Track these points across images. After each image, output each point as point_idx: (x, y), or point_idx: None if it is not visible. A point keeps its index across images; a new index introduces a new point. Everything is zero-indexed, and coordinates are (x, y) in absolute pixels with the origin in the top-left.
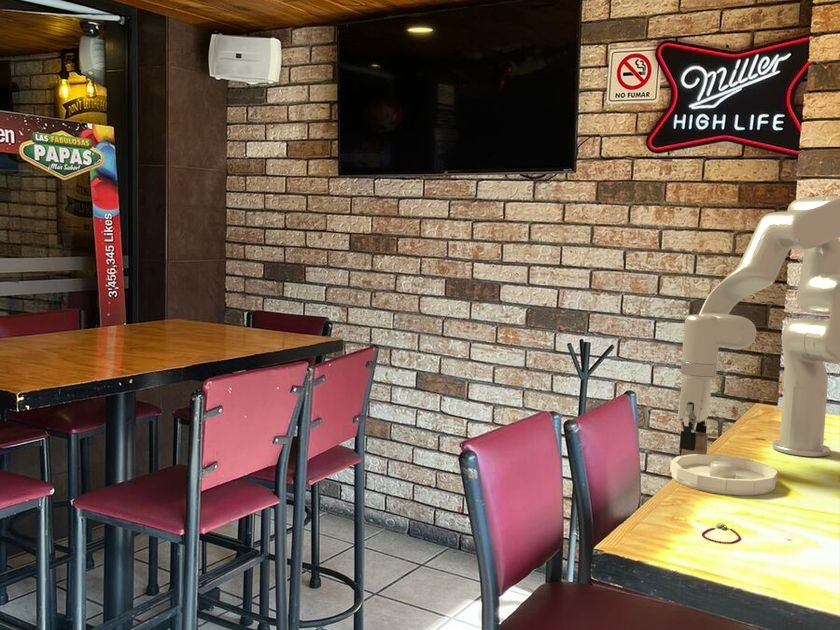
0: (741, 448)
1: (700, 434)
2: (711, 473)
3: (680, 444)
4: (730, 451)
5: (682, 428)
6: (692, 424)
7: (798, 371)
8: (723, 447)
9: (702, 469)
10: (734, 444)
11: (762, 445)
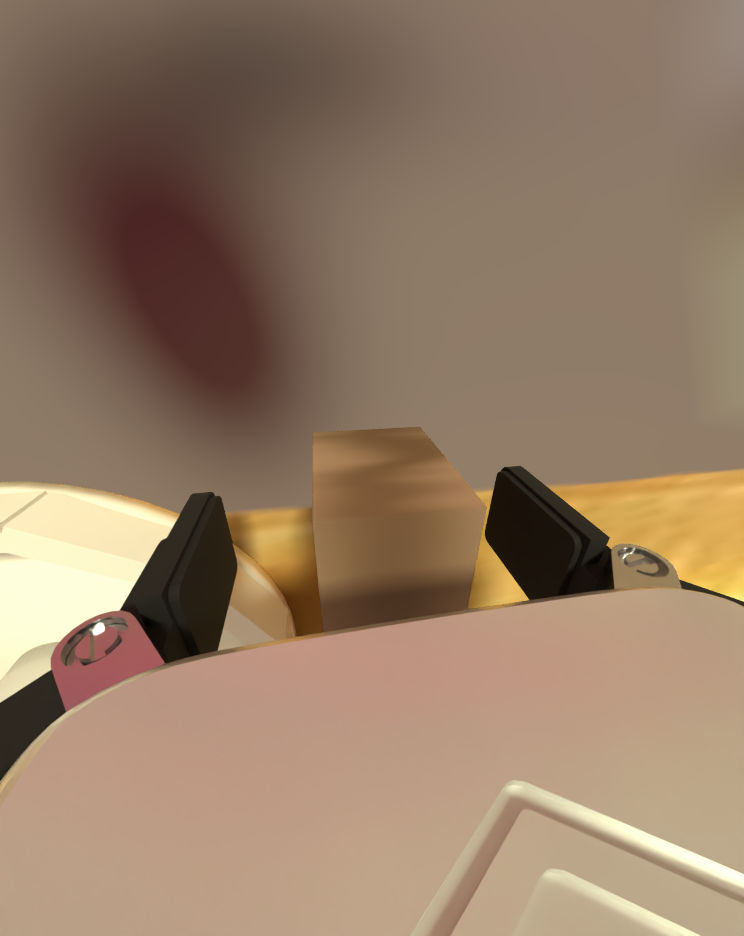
0: (667, 552)
1: (400, 606)
2: (11, 668)
3: (186, 509)
4: None
5: (57, 663)
6: (586, 542)
7: None
8: (669, 502)
9: (105, 600)
10: (730, 517)
11: (728, 583)
